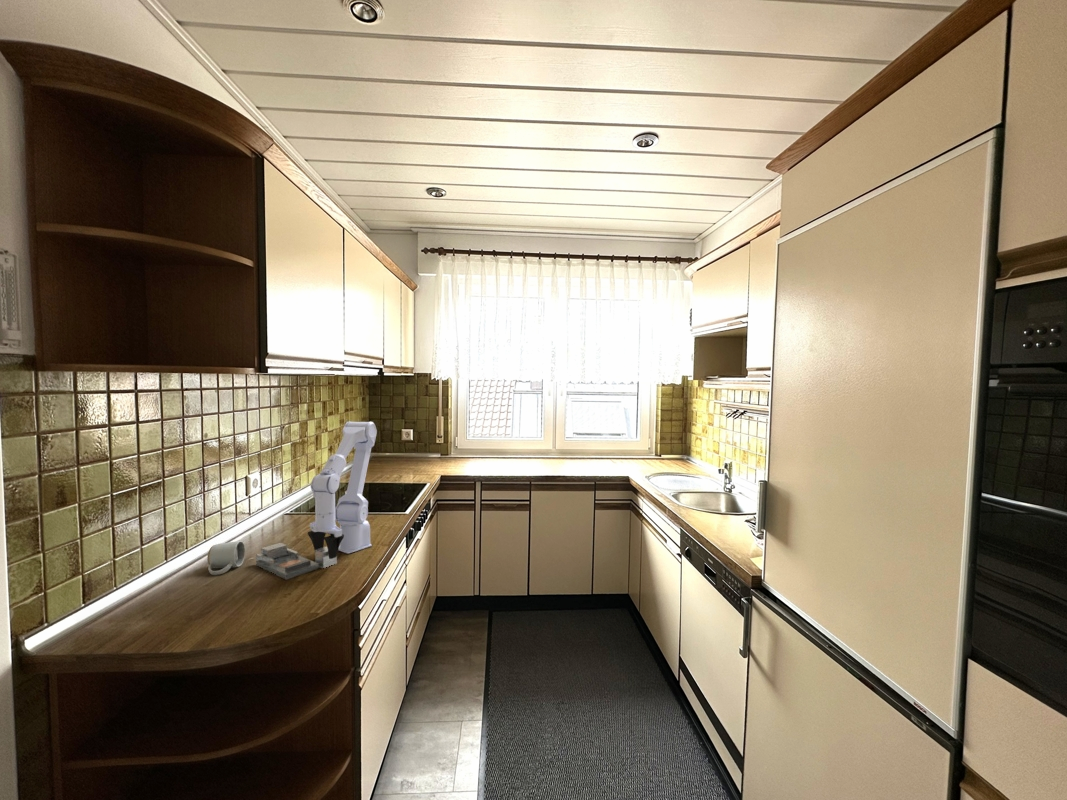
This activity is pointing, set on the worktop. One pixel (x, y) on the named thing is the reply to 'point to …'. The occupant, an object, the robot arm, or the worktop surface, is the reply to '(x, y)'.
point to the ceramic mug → (225, 556)
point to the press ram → (274, 550)
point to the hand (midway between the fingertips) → (325, 555)
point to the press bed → (287, 564)
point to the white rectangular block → (324, 558)
